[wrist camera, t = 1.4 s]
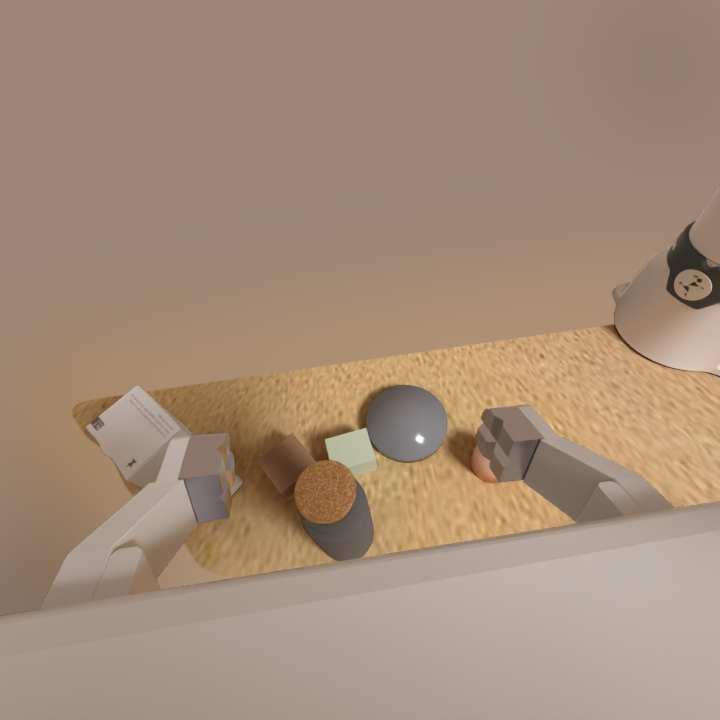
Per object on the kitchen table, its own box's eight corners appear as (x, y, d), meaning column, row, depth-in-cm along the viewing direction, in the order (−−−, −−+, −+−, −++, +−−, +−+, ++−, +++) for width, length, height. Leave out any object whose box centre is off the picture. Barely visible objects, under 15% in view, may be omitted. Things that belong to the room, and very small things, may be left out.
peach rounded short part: (493, 440, 44) (499, 427, 41) (518, 472, 42) (526, 460, 39) (462, 456, 43) (467, 445, 40) (486, 490, 41) (492, 480, 38)
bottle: (323, 502, 41) (293, 451, 29) (375, 505, 41) (366, 453, 29) (316, 561, 38) (279, 529, 26) (372, 564, 37) (361, 534, 25)
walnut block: (298, 444, 46) (292, 433, 43) (322, 473, 44) (317, 463, 41) (265, 471, 44) (256, 460, 41) (287, 503, 42) (280, 493, 39)
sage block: (367, 439, 46) (366, 427, 43) (377, 469, 43) (375, 459, 40) (329, 451, 45) (324, 439, 42) (336, 482, 43) (332, 471, 40)
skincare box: (245, 483, 43) (188, 428, 31) (204, 525, 41) (125, 483, 29) (204, 442, 47) (139, 379, 35) (164, 479, 45) (79, 425, 33)
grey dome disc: (418, 379, 50) (419, 373, 49) (462, 439, 44) (464, 434, 43) (353, 410, 48) (352, 405, 47) (390, 477, 42) (390, 473, 41)
